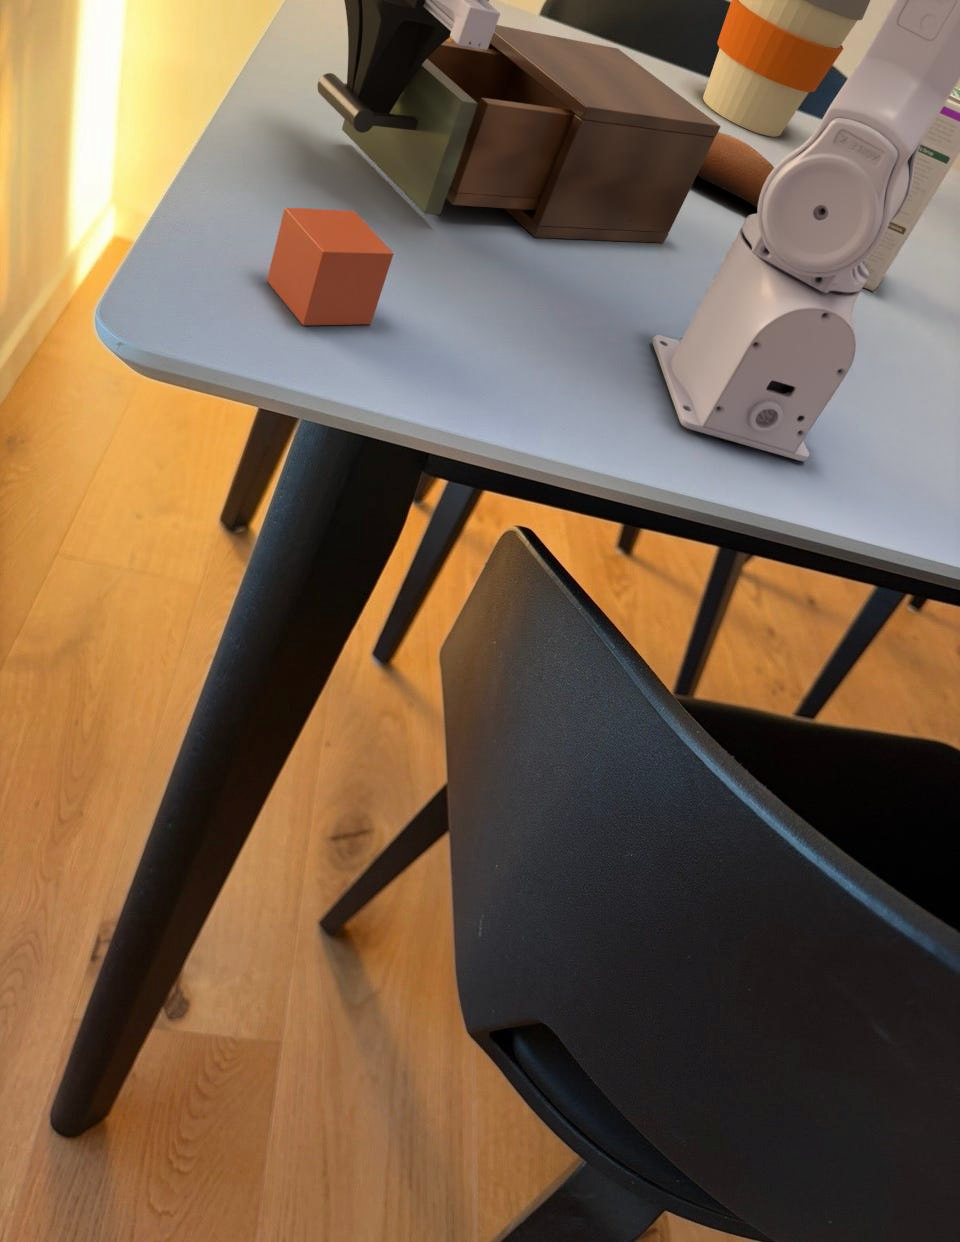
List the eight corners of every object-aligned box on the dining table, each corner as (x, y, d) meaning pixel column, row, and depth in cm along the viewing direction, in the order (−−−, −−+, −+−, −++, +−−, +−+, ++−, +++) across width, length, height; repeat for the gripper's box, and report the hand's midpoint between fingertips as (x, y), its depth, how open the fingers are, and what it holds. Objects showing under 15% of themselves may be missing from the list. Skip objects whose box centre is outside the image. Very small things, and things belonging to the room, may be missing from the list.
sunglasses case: (774, 191, 97) (805, 136, 91) (745, 249, 94) (774, 196, 88) (591, 99, 97) (609, 38, 91) (557, 154, 95) (573, 95, 89)
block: (371, 324, 56) (394, 253, 54) (303, 326, 54) (323, 251, 51) (333, 281, 58) (354, 210, 56) (266, 280, 56) (284, 206, 53)
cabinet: (534, 237, 72) (587, 106, 67) (441, 149, 77) (483, 21, 72) (664, 243, 80) (721, 126, 74) (571, 162, 85) (617, 48, 80)
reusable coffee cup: (735, 136, 108) (817, -29, 98) (664, 77, 114) (735, -82, 105) (819, 152, 115) (903, 0, 105) (747, 96, 122) (820, -51, 112)
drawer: (361, 210, 64) (396, 92, 59) (279, 123, 68) (305, 7, 64) (563, 221, 73) (606, 120, 69) (479, 144, 78) (513, 45, 74)
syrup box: (875, 293, 88) (990, 114, 79) (808, 263, 88) (916, 79, 79) (869, 267, 93) (977, 94, 83) (805, 238, 92) (907, 61, 83)
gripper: (310, -216, 58) (251, 47, 67) (454, -103, 51) (368, 173, 60) (418, -179, 62) (350, 63, 71) (564, -70, 56) (469, 182, 64)
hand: (365, 114), depth 66 cm, fingers closed, pressing on drawer
